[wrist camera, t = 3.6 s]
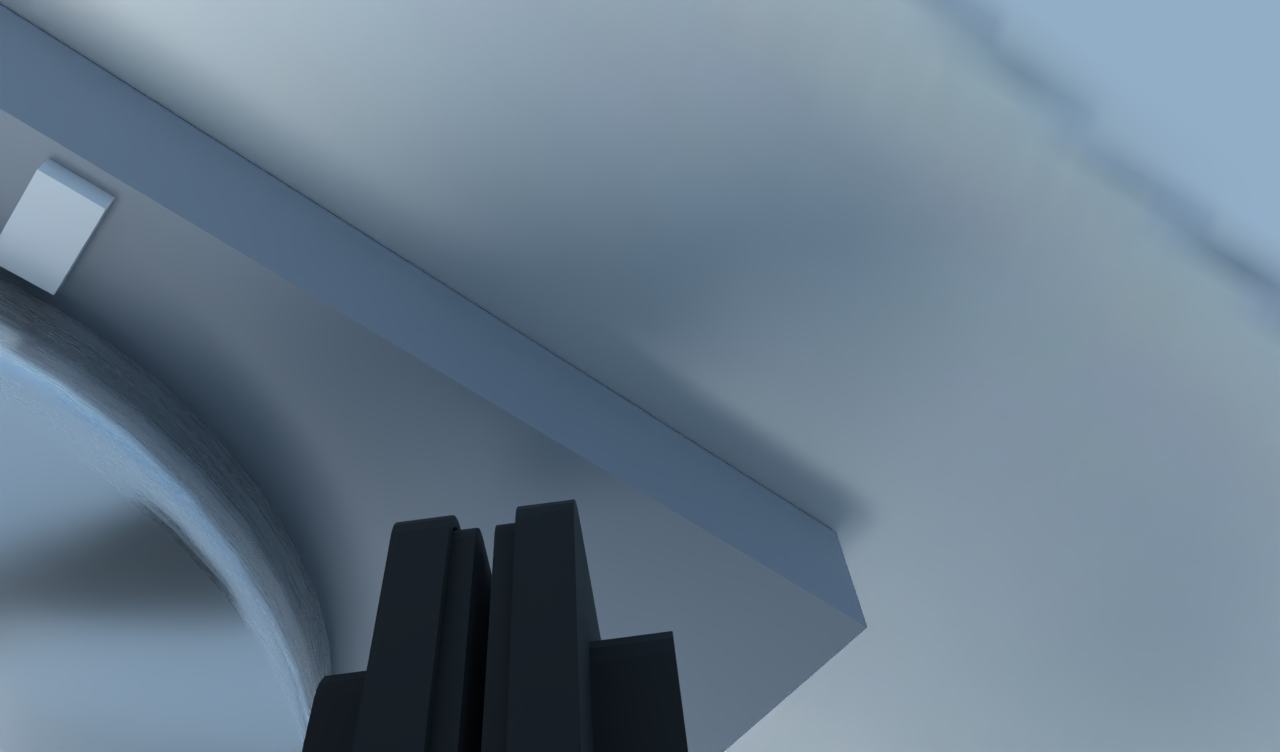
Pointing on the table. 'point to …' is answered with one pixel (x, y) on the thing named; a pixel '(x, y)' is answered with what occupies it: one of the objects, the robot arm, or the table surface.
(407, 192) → the table surface
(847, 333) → the table surface
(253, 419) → the grey base plate
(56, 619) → the dial
